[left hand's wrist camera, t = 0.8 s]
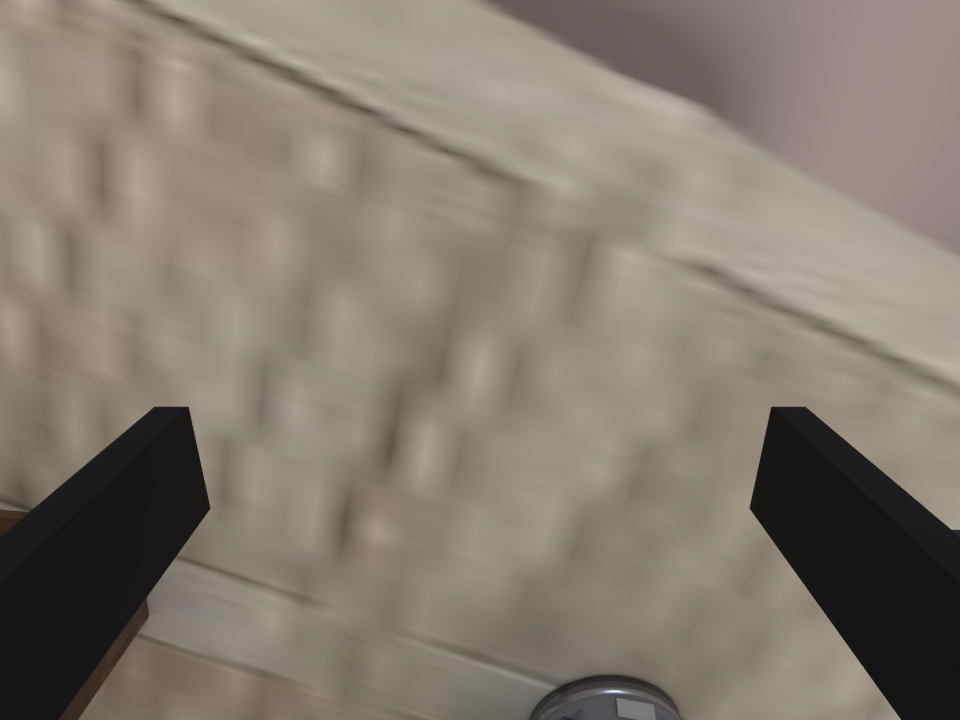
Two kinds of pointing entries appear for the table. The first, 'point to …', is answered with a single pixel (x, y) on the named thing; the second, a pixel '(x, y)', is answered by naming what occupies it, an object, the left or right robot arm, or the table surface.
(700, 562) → the table surface
